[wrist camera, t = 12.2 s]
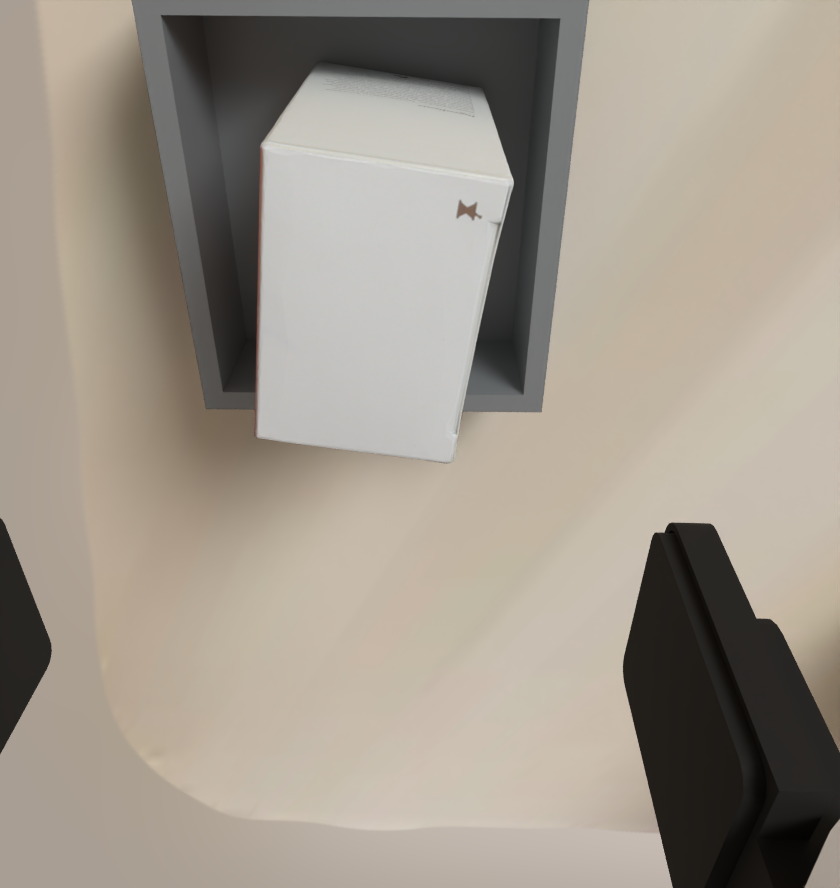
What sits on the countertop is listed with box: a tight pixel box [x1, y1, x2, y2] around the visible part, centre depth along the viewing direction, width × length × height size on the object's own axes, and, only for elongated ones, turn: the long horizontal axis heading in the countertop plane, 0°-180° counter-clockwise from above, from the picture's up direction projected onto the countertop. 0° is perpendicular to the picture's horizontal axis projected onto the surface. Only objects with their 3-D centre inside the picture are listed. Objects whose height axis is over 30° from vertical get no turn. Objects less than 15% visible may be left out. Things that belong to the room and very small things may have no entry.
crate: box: [132, 0, 589, 412], centre depth 25 cm, size 12×13×5 cm
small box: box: [254, 62, 514, 463], centre depth 22 cm, size 8×6×10 cm
